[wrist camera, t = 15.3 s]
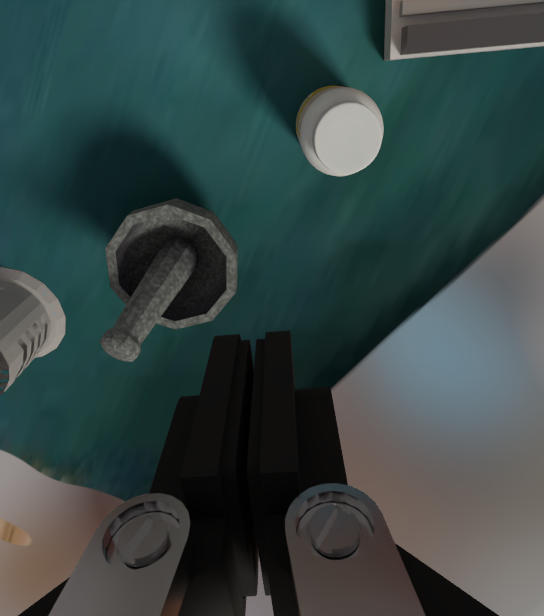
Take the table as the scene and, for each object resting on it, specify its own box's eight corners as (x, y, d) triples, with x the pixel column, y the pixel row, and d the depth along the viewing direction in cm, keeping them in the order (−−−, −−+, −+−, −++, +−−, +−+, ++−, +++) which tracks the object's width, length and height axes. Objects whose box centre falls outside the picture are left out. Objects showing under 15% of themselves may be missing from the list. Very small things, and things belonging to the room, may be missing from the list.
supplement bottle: (287, 97, 34) (291, 103, 25) (357, 76, 33) (386, 74, 25) (304, 168, 36) (313, 195, 28) (370, 149, 35) (400, 171, 27)
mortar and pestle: (173, 160, 36) (130, 193, 25) (265, 231, 39) (261, 288, 28) (105, 262, 40) (42, 329, 29) (192, 320, 43) (164, 400, 32)
